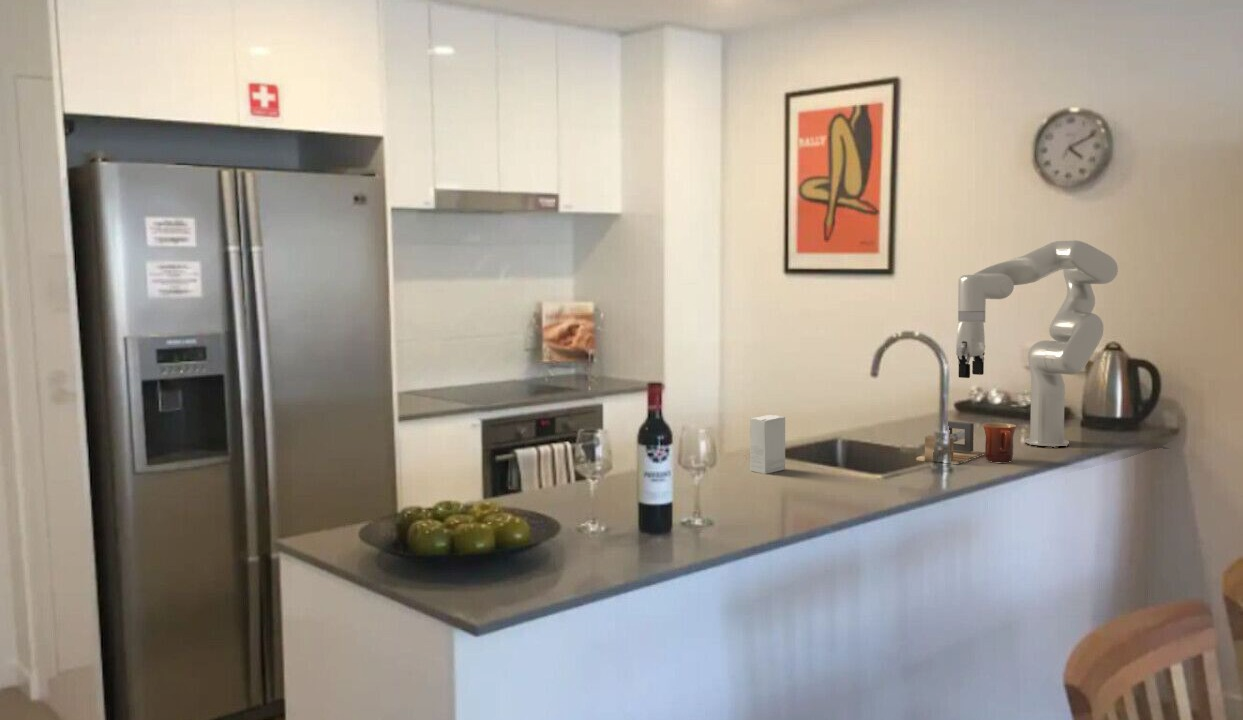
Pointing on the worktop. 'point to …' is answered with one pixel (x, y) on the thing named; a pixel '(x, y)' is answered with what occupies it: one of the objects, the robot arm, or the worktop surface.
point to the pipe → (958, 436)
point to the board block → (954, 455)
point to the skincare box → (767, 444)
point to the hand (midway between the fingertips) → (971, 376)
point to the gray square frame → (968, 435)
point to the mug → (999, 441)
